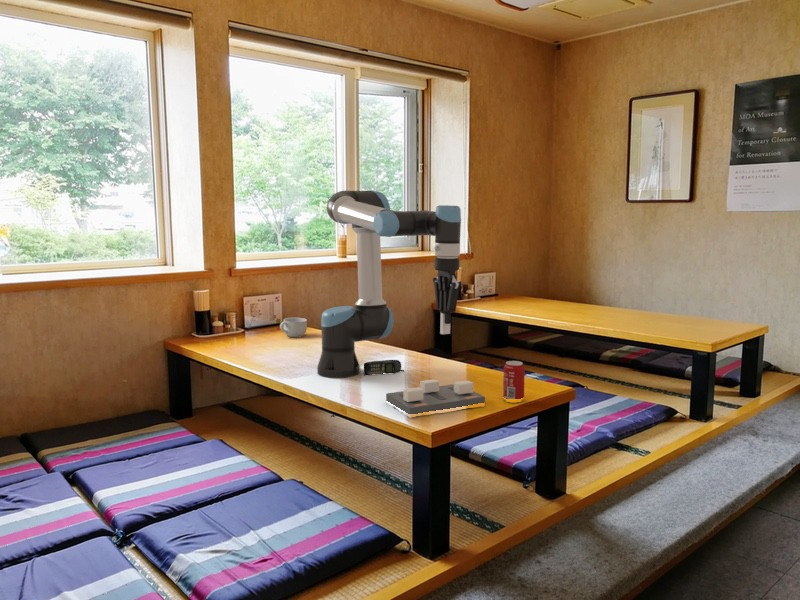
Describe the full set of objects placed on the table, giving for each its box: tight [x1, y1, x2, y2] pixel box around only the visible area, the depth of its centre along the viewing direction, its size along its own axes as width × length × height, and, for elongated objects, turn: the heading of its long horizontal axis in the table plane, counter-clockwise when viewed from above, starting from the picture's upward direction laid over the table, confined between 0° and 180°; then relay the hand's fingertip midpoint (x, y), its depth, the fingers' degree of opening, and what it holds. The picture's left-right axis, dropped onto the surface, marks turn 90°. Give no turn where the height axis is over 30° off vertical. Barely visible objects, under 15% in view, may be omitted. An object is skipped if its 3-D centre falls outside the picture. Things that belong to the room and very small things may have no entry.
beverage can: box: [502, 360, 526, 399], centre depth 197 cm, size 6×6×12 cm
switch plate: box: [385, 383, 486, 414], centre depth 194 cm, size 16×25×3 cm, turn 116°
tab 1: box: [402, 386, 423, 402], centre depth 188 cm, size 3×5×3 cm, turn 116°
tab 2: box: [419, 378, 440, 393], centre depth 197 cm, size 3×5×3 cm, turn 116°
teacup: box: [279, 317, 308, 338], centre depth 297 cm, size 14×11×8 cm
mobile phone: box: [363, 359, 405, 376], centre depth 231 cm, size 5×3×15 cm
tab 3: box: [453, 380, 474, 394], centre depth 195 cm, size 3×5×3 cm, turn 116°
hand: (445, 333), depth 199 cm, fingers closed
